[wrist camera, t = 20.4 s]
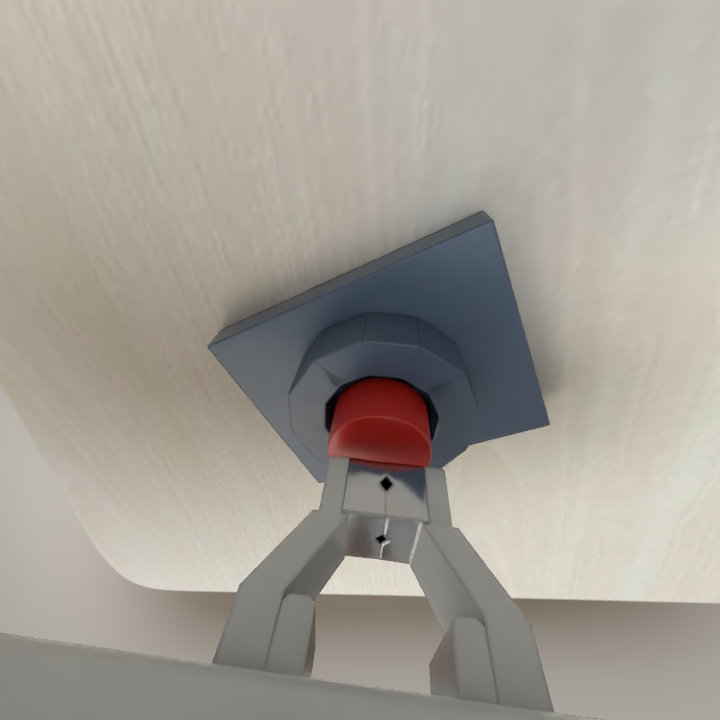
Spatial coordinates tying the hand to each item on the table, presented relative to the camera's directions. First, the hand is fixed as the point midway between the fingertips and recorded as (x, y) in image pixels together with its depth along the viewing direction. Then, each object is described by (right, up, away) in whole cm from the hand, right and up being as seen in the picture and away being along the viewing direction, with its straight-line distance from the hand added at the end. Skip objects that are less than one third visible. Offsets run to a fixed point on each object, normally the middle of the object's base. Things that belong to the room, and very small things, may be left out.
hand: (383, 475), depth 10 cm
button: (0, +1, +2) cm, 2 cm away
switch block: (0, +3, +4) cm, 5 cm away
